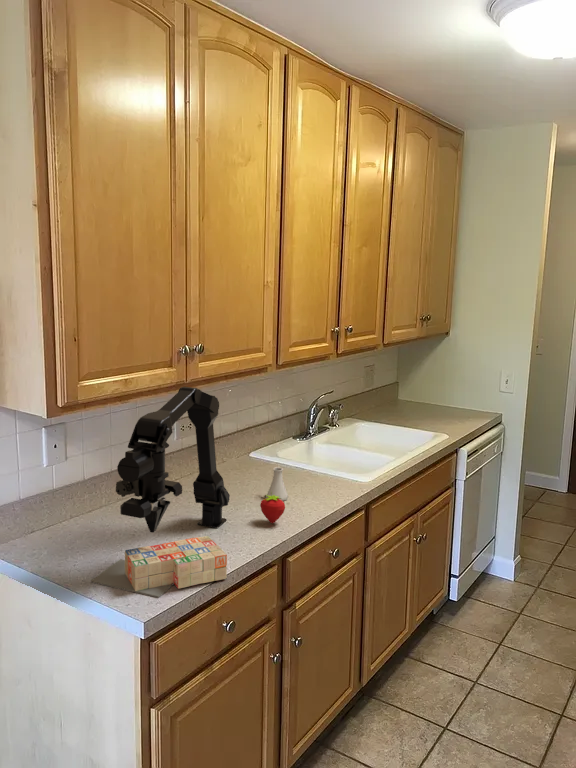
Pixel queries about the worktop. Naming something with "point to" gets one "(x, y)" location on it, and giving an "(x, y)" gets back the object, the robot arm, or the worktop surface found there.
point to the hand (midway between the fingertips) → (152, 531)
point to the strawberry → (272, 508)
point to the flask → (278, 485)
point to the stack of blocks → (176, 564)
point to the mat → (125, 580)
